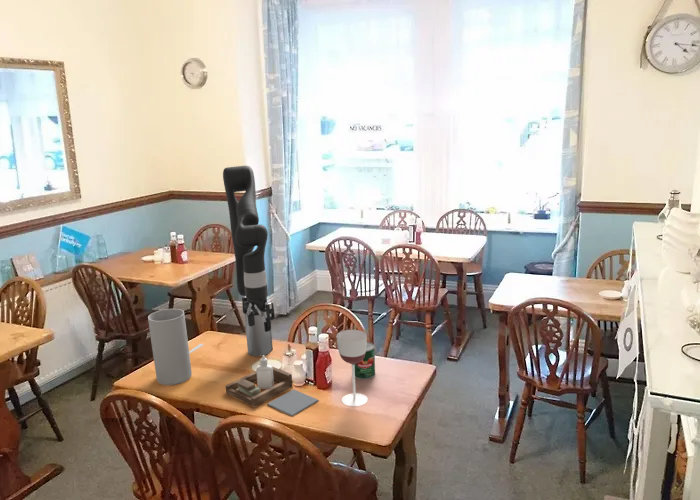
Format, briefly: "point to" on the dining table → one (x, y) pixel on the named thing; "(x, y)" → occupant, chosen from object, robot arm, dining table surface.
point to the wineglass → (352, 359)
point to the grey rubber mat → (293, 402)
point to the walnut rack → (282, 385)
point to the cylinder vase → (170, 346)
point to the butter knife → (196, 348)
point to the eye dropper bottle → (264, 374)
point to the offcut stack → (247, 388)
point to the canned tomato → (366, 364)
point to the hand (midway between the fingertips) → (259, 328)
